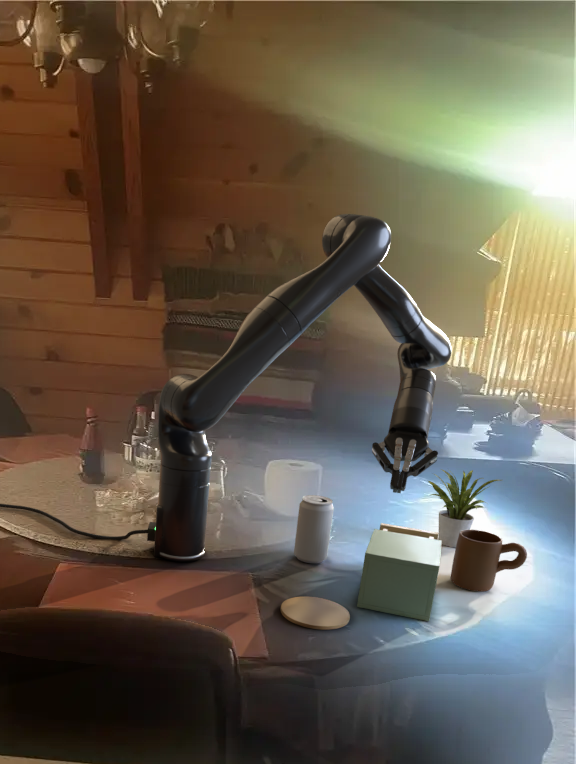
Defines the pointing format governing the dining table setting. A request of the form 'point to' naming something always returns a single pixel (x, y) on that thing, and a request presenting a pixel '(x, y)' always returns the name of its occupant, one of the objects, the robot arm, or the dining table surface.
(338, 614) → the coaster
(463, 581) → the mug
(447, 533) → the house plant
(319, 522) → the beverage can
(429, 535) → the drawer
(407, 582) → the cabinet
